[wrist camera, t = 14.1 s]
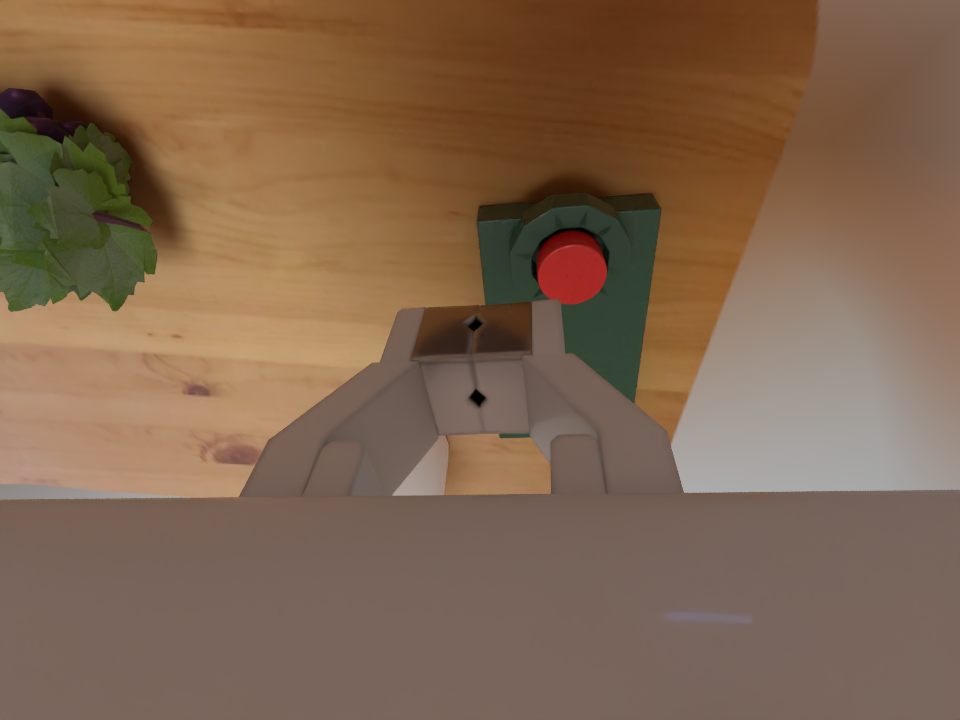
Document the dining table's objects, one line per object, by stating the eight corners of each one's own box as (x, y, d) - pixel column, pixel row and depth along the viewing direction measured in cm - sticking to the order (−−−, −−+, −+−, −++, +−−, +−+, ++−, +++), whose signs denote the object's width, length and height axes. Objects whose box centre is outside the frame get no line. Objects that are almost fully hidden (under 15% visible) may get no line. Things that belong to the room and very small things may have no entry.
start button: (535, 231, 26) (536, 246, 25) (604, 227, 26) (609, 242, 25) (537, 290, 29) (538, 306, 27) (600, 286, 28) (604, 303, 27)
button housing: (476, 185, 28) (472, 213, 25) (655, 171, 28) (673, 198, 24) (500, 418, 41) (499, 456, 38) (624, 414, 40) (634, 453, 37)
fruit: (-21, 72, 29) (192, 103, 26) (42, 249, 34) (225, 291, 31) (-306, 65, 20) (-37, 109, 17) (-163, 302, 26) (63, 368, 22)
